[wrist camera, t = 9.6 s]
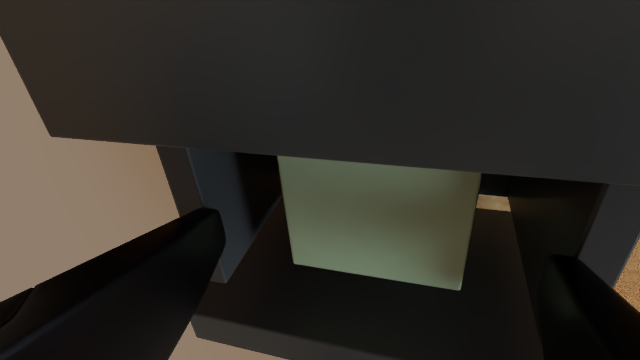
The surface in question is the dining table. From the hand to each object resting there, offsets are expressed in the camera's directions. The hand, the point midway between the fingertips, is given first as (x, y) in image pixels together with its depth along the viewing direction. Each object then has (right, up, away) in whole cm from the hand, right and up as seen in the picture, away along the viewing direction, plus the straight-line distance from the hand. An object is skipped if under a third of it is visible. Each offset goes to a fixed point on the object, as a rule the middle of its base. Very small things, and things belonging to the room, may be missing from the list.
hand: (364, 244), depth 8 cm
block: (+2, +3, +4) cm, 5 cm away
